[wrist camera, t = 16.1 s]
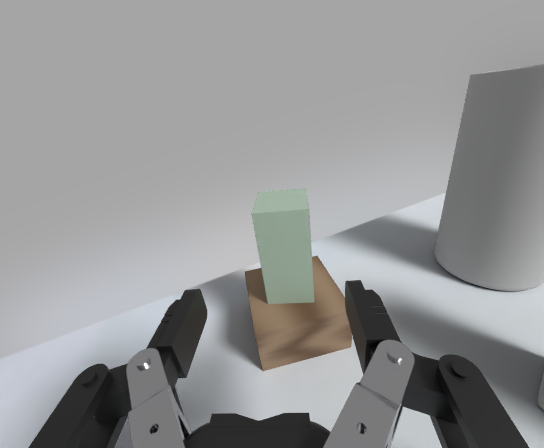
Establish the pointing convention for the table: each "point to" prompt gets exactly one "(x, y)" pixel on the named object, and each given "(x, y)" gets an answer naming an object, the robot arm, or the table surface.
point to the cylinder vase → (497, 184)
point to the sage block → (284, 245)
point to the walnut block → (298, 321)
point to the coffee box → (541, 394)
